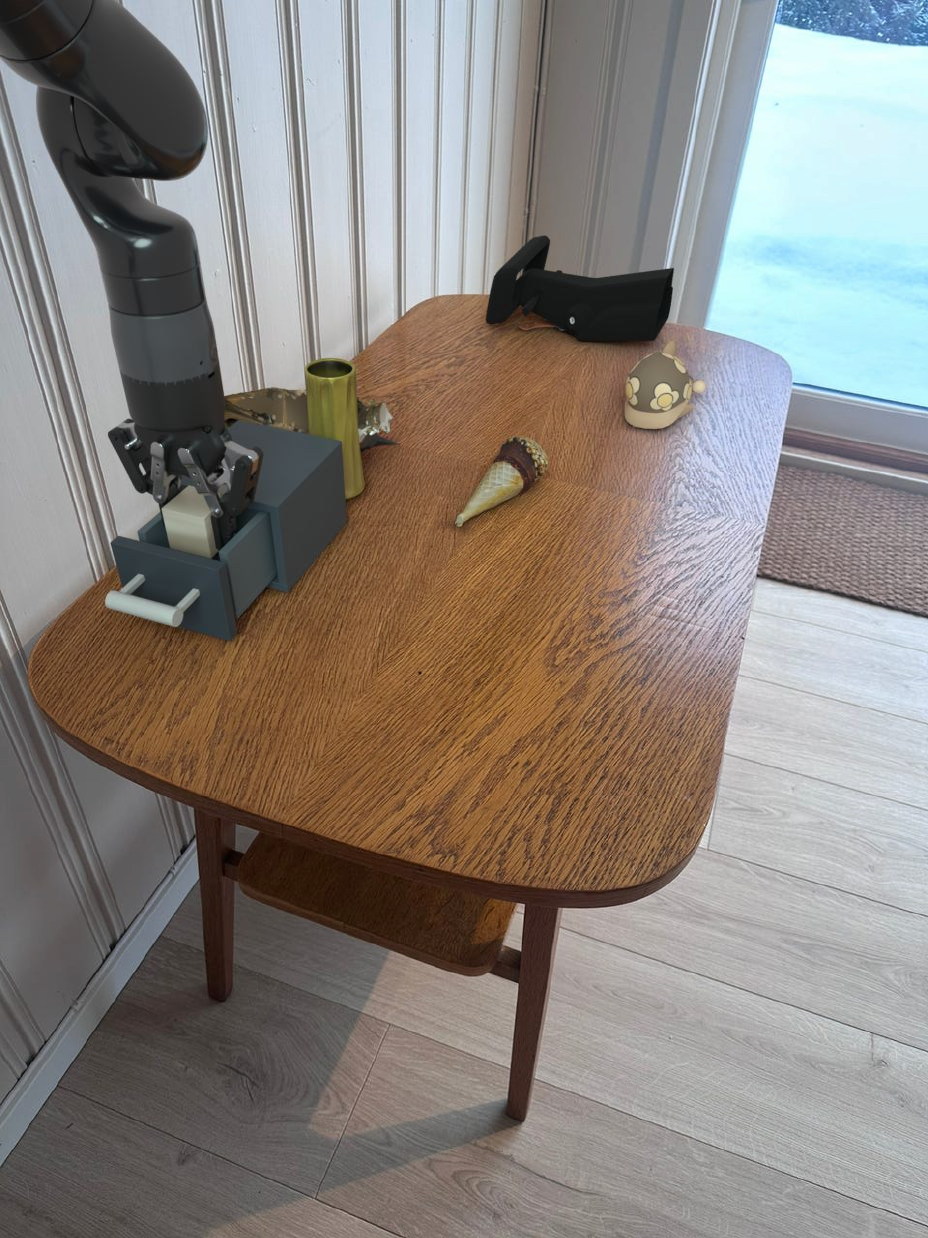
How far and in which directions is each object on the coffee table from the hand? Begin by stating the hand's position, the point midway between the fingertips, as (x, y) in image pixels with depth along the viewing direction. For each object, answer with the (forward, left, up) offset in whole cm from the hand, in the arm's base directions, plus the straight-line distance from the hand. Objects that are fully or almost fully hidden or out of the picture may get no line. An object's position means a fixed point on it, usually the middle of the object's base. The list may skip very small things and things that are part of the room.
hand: (202, 539), depth 79 cm
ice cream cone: (+20, -17, -7) cm, 28 cm away
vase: (+23, -2, -7) cm, 24 cm away
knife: (+79, -14, -7) cm, 80 cm away
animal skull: (+22, +4, +4) cm, 23 cm away
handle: (+80, -18, -8) cm, 83 cm away
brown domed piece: (+66, -34, -6) cm, 74 cm away
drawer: (-2, 0, -6) cm, 6 cm away
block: (0, 0, 0) cm, 0 cm away
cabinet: (+10, 0, -7) cm, 13 cm away
